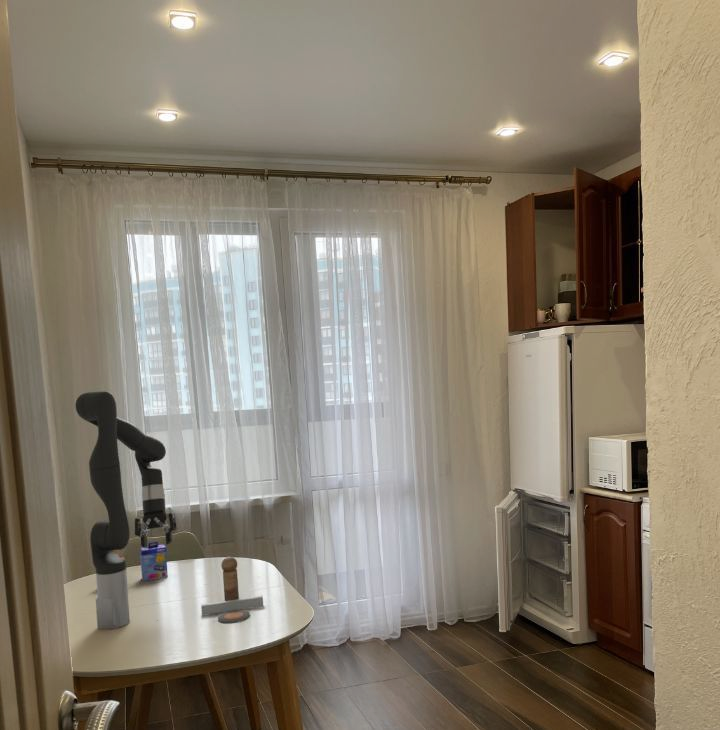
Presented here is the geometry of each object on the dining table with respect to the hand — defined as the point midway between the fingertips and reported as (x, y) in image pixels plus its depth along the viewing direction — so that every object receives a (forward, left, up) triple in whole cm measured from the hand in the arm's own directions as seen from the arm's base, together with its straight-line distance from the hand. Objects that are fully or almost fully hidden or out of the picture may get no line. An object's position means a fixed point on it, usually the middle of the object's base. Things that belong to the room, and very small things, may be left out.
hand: (156, 546), depth 233 cm
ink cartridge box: (+32, +24, -21) cm, 45 cm away
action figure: (+23, +36, -21) cm, 47 cm away
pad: (-8, -32, -21) cm, 39 cm away
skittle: (+5, -25, -21) cm, 33 cm away
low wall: (-1, -28, -21) cm, 35 cm away
